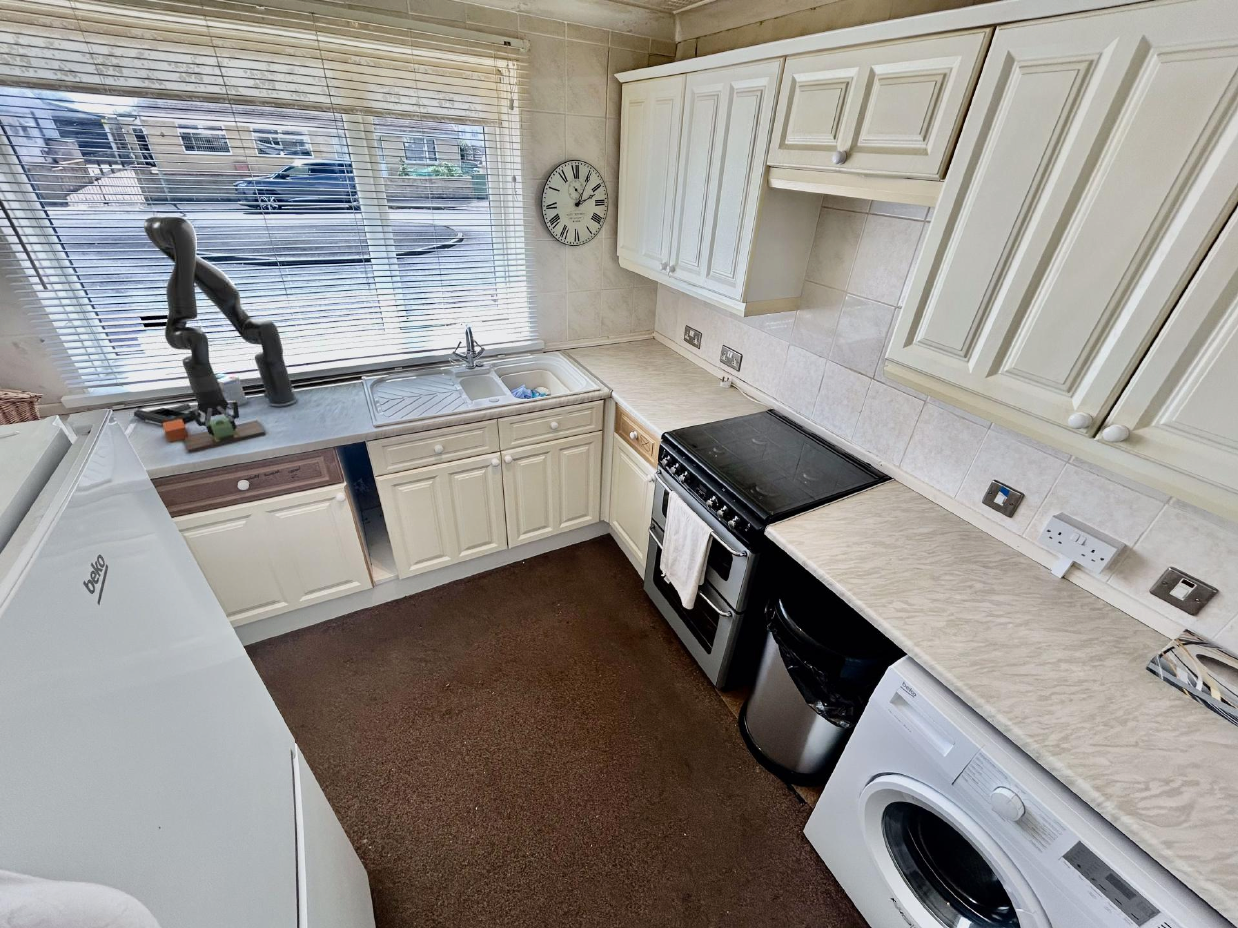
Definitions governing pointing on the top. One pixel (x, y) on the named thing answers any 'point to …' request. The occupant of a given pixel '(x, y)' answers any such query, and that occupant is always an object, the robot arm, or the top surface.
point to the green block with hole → (221, 428)
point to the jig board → (208, 441)
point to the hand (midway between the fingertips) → (223, 432)
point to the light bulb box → (231, 388)
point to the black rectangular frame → (165, 414)
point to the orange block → (175, 430)
